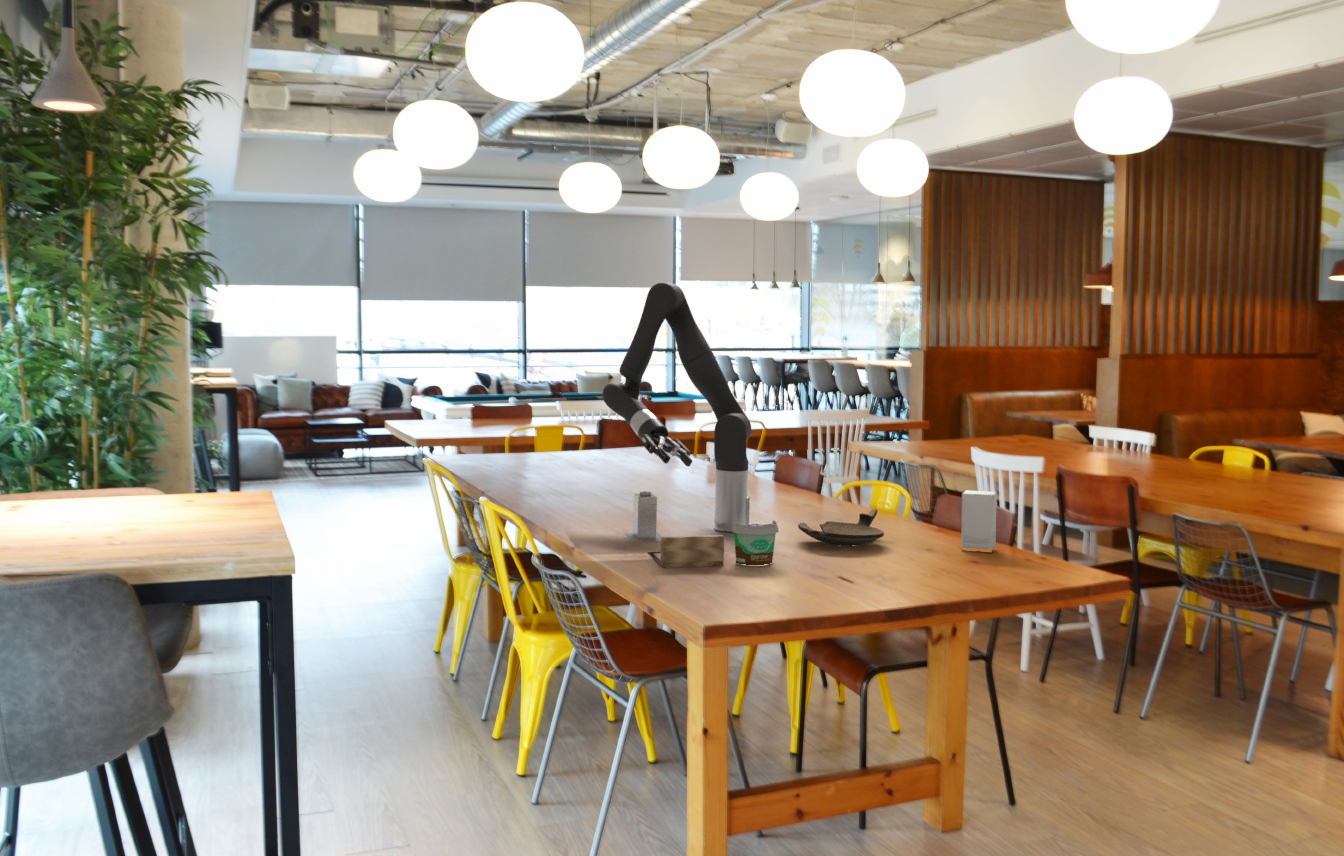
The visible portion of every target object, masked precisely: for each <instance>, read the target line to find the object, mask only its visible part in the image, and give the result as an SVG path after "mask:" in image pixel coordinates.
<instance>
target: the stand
mask: <svg viewBox="0 0 1344 856" xmlns="http://www.w3.org/2000/svg"><path fill="white" fill-rule="evenodd" d="M624 534H625V536H627V538H628V539H630V540H631V541H641V540H642V541H643V540H644V541H646V540H647V541H648V540H649V541H650V540H651V541H654V540H661V538H662V537H663V536H662V535H661V534H660V533H659V532H656V538H640V539H638V538H637V537H636V536H635V535H634V534H633V532H631V533H629V532H627V533H624Z"/></svg>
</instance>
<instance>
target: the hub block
mask: <svg viewBox="0 0 1344 856" xmlns="http://www.w3.org/2000/svg"><path fill="white" fill-rule="evenodd" d="M657 506H658V496H657V495H655V494H654V493H652V492H651V491H639V493H633V525H632V526H633V532H632V533H633V534H634V535H635V536H636V537H637V538H638V539H640V538H656V533H657V521H658V520H657V512H658V511H657Z"/></svg>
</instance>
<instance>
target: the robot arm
mask: <svg viewBox="0 0 1344 856" xmlns="http://www.w3.org/2000/svg"><path fill="white" fill-rule="evenodd" d="M648 290H649V291H648V292H647V296H646V299H645V302H644V306H643V310H642V313H641V316H640V319H639V322H638V326H637V327H636V328H637V329H636V331H635V333H634V336H633V338H632V341H631V344H630V345H629V347H628V349H627V351H626V354H625V356H624V358H623V359H622V362H621V365H620V367H619V371H618V372H619V373H620V375H621V376H622V377H624V378H625V380H624V381H625V382H624V384H623V383H619V382H609V383H608V384H605V386H604V388H603V389H602V399H603V402H604V404H605V405H606V406H607V407H608V408H609V409H610V410H611V411H612V412H614V413H615V414H617V415H618V416H620V417H621V418H623V419H624V420H625V421H626V423H627V424H628V425H629V426H630V427H631V429H632V431H633V432H634V433H635V435H636V436H637V437H638V438H639V439H640V441H639V442H640V443H641V445H642V446H643V447H644V448H645V450H646V451H647V452H648V453H649V454H651V455H653V454H654V455H655V457H659V459H660V460H661V461H662V462H663V463H664V464H669V462H670V460H671V456H672V457H677V458H678V459H680V461H681V462H682V463H683V464H684V465H685V466H686V467H690V466H691V465H692V463H693V459H692V458H691V457H690V456H689V453H690V452H691V451H690V450H689V448H687V447H686V445H684V444H683V442H682V441H681V440H680V439H675V441H674V440H673V438H670V437H669V430H668V428H667V427H666V426H665V424H663V422H661V420H660V419H659V418H658V417H657V415H655V414H654V413H653V412H652V411H650V410H649V408H648V407H647V406H646V405H645V404H644V403H643V402H641V401H640V400H639V396H640V390H641V386H642V381H643V380H642V379H643V376H644V374H645V372H646V369H647V368H648V365H649V363H650V361H651V359H652V356H653V352H654V348H655V343H656V340H657V337H658V333H659V331H660V328H661V327H662V324H663V323H664V321H666V322H667V324H668V325H669V327H670V329H671V331H672V333H673V335H674V339H675V343H676V347H677V353H678V355H679V360H680V361H681V364H682V367H683V368H684V370H685V373H686V374H687V376H688V378H689V379H690V381H691V383H692V384H693V386H694V387H695V389H696V390H697V391H698V392H699V393H700V394H701V396H703V398H704V399H705V400H706V401H707V403H708V405H710V407H711V409H712V412H713V413H714V416H715V418H716V423H715V426H714V436H713V437H714V438H713V441H714V442H713V445H714V446H713V449H714V452H713V453H714V455H713V456H714V457H713V458H714V461H715V484H714V485H715V488H714V489H715V490H714V492H715V493H714V494H715V495H714V522H713V523H714V529H715V530H716V531H720V532H730V533H731V532H732V528H733V526H734V523H735V524H739V525H750V507H751V506H750V501H751V498H750V496H748V495H749V493H748V490H749V489H748V488H749V459H748V456H747V441H748V440H749V438H750V437H751V434H752V425H751V421H750V420H749V417H748V416H747V415H746V413H745V411H743V408H742V407H741V406H740V404H739V403H738V401H737V399H736V397H735V396H734V394H733V393H732V390H731V389H730V386H729V384H728V381H727V380H726V377H725V374H724V372H723V371H722V369H721V367H720V364H719V363H718V360H717V358H716V357H715V354H714V352H713V351H712V349H711V347H710V345H709V343H708V341H707V340H706V338H705V336H704V334H703V333H702V331H701V329H700V328H699V326H698V324H697V323H696V320H695V319H694V316H693V314H692V310H691V309H690V307H689V306H690V305H689V304H688V301H687V298H686V296H685V293H684V291H683V289H681V287H680V286H678V285H677V284H675V283H673V282H666V281H662V282H657V283H654V285H652V286H651V287H650V289H648ZM673 450H674V451H673ZM732 533H733V532H732Z"/></svg>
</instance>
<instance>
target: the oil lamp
mask: <svg viewBox="0 0 1344 856" xmlns="http://www.w3.org/2000/svg"><path fill="white" fill-rule="evenodd" d="M877 514H878V509H877V508H873V509H871V510H870V511H869V512H868V513H859V518H858V522H857V523H853V522H852V523H851V522H849V523H848V522H840V521H830V520H829V521H826V522H825V523H820V524H819V527H820V530H821V531H820V530H815V529H812V528H811V527H810V526H809V525H808V524H807V523H805V522H800V523H798V525H797V527H798V529H799V530H800V531H801V532H803V533H804V534H805V535H807V536H808V537H810V538H812V539H814V540H816V541H819V542H821V543H824V544H827V545H832V546H833V545H834V546H838V545H841V546H840V547H853V546H852V545H859V546H861V545H862V546H863V545H865V544H868V543H872V542H874V541H876V540H878V539H880V538H882V537H883V538H884V536H885V533H884V531H882V530H881V529H880V528H877V527H873V526H871V525H872V523H873V521H874V519H875V518H876V516H877Z"/></svg>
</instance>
